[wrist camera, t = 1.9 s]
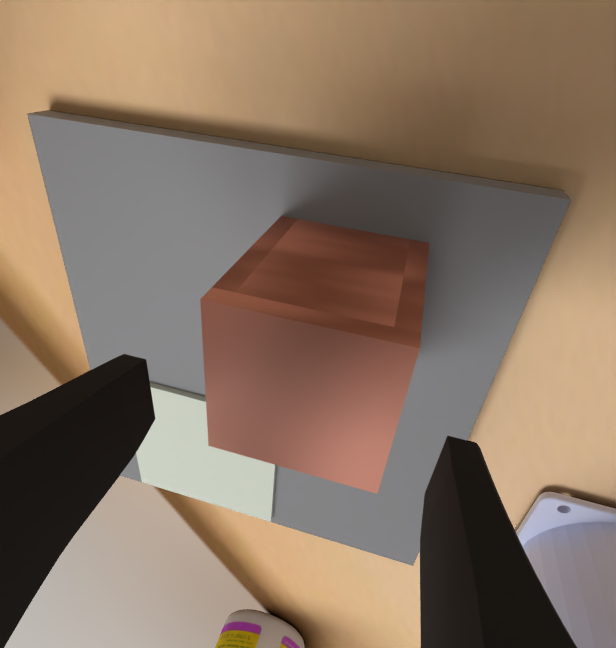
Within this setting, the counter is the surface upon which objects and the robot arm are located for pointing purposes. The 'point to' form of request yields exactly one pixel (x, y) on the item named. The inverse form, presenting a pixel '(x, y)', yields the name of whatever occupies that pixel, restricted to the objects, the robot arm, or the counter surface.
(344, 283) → the rimmed copper cube
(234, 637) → the supplement bottle
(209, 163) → the board
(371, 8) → the counter surface
